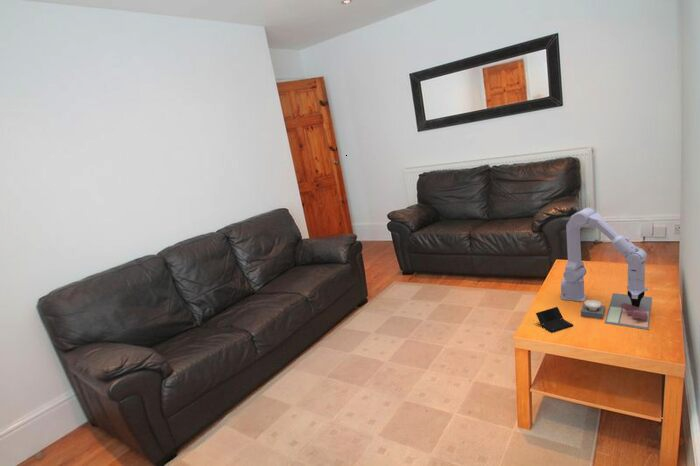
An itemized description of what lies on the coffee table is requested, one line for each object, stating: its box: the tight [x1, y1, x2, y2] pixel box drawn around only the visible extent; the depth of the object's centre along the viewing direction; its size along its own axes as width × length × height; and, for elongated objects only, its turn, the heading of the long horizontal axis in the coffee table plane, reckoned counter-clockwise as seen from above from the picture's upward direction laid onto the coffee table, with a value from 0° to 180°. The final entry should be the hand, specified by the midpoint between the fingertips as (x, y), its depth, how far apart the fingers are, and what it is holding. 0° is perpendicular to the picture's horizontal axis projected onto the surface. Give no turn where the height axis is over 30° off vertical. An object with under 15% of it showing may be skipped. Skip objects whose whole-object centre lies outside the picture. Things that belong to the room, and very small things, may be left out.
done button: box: [584, 299, 602, 311], centre depth 165 cm, size 6×6×4 cm
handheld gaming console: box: [535, 306, 574, 334], centre depth 163 cm, size 12×7×10 cm
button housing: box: [580, 302, 606, 320], centre depth 166 cm, size 8×8×2 cm
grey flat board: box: [604, 292, 653, 331], centre depth 164 cm, size 14×30×1 cm, turn 141°
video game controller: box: [621, 303, 648, 320], centre depth 158 cm, size 10×5×7 cm
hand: (635, 307), depth 162 cm, fingers closed
